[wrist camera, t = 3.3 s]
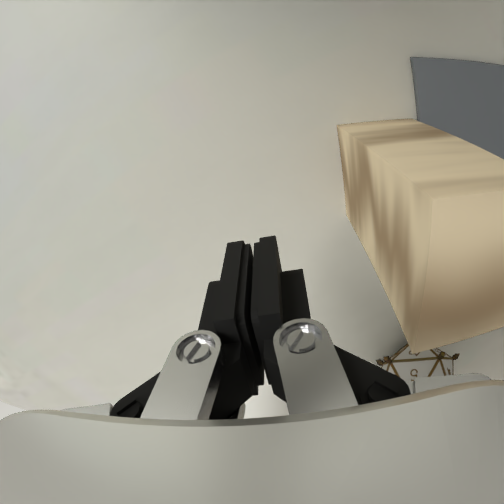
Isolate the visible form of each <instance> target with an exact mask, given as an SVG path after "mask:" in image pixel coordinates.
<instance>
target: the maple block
mask: <svg viewBox="0 0 504 504" xmlns="http://www.w3.org/2000/svg"><path fill="white" fill-rule="evenodd" d="M337 130H338V137H339V145H340V153H341V162H342V171H343V180H344V191H345V202H346V214H347V217H348V219H349V220H350V222H351V224H352V226H353V228H354V230H355V232H356V234H357V235H358V237H359V239H360V241H361V243H362V245H363V247H364V249H365V251H366V253H367V255H368V257H369V259H370V261H371V263H372V265H373V267H374V269H375V271H376V273H377V275H378V277H379V279H380V282H381V284H382V286H383V288H384V290H385V292H386V294H387V296H388V299H389V301H390V303H391V305H392V307H393V310H394V312H395V314H396V316H397V319H398V321H399V323H400V326H401V328H402V330H403V333H404V335H405V337H406V340H407V342H408V345H409V347H410V349H411V352H412V354H414V353H418V352H422V351H426V350H430V349H434V348H437V347H441V346H445V345H448V344H452V343H455V342H458V341H462V340H465V339H468V338H471V337H475V336H478V335H481V334H484V333H487V332H490V331H493V330H496V329H498V328H501V327H504V159H502V158H500V157H498V156H496V155H494V154H492V153H490V152H488V151H486V150H484V149H482V148H480V147H478V146H476V145H474V144H472V143H469V142H467V141H465V140H463V139H461V138H458V137H456V136H454V135H451V134H449V133H447V132H444V131H442V130H440V129H437V128H435V127H432V126H430V125H427V124H424V123H422V122H419V121H417V120H414V119H397V120H383V121H371V122H361V123H351V124H342V125H337Z"/></svg>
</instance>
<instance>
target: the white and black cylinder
mask: <svg viewBox="0 0 504 504" xmlns="http://www.w3.org/2000/svg"><path fill="white" fill-rule="evenodd" d="M245 405H246V407H245V414H244V419H247V418H262V417H274V416H285V415H289V412H288V407H287V403H286V402H284V401H283V400H282V399H280V398H279V397H277V396H276V395H274V394H273V390H272V386H271V385H269V384H268V380H267V377H266V373H265V369H264V385H261V386H258V395H255V396H252V397H251V398H249V399H248V400H247V401H246V402H245Z"/></svg>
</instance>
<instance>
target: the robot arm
mask: <svg viewBox="0 0 504 504" xmlns="http://www.w3.org/2000/svg"><path fill="white" fill-rule="evenodd" d="M264 369H265V373H266V377H267V380H268V384H269V385H271V386H272V390H273V394H274V395H276V396H277V397H279V398H280V399H282V400H283V401H284V402H286V403H287V407H288V412H289V415H285V416H274V417H262V418H247V419H244V414H245V407H246V405H245V402H246V401H247V400H248V399H249V398H251V397H252V396H255V395H258V386H261V385H264ZM0 504H504V380H491V379H490V378H489V377H487V376H485V375H483V374H478V373H470V374H460V375H447V376H432V377H415V378H414V381H404V380H403V379H401V378H400V377H398V376H397V375H395V374H393V373H391V372H388V371H386V370H384V369H382V368H380V367H378V366H376V365H374V364H372V363H369V362H367V361H365V360H363V359H361V358H359V357H357V356H355V355H353V354H351V353H349V352H347V351H345V350H343V349H341V348H339V347H337V346H335V345H333V342H332V340H331V338H330V335H329V333H328V331H327V329H326V328H325V326H324V325H323V324H321V323H320V322H318V321H316V320H313V319H311V317H310V310H309V304H308V298H307V292H306V286H305V281H304V275H303V269H298V270H291V271H284V272H282V269H281V264H280V258H279V252H278V246H277V241H276V236H269V237H263V238H260V242H257V243H254V257H253V254H252V249H251V245H250V244H245V243H244V241H237V242H231V243H227V248H226V253H225V258H224V263H223V268H222V273H221V278H220V281H213V282H210V283H209V285H208V289H207V293H206V298H205V302H204V306H203V311H202V315H201V319H200V324H199V328H198V330H197V331H193V332H190V333H187V334H185V335H184V336H182V337H181V338H179V339H178V340H177V341H176V342H175V344H174V345H173V347H172V349H171V351H170V353H169V355H168V357H167V360H166V362H165V364H164V366H163V368H162V370H161V372H159V373H158V374H157V375H155V376H154V377H152V378H151V379H149V380H148V381H146V382H145V383H144V384H142V385H141V386H139V387H138V388H136V389H135V390H133V391H132V392H130V393H129V394H127V395H126V396H125V397H123V398H122V399H120V400H119V401H118V402H117V403H116V404H115V405H114V406H112V405H111V403H108V404H101V405H94V406H86V407H78V408H69V409H64V410H60V411H58V410H30V411H22V412H18V413H14V414H12V415H9V416H7V417H5V418H3V419H2V420H0Z"/></svg>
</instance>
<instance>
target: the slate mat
mask: <svg viewBox="0 0 504 504" xmlns="http://www.w3.org/2000/svg"><path fill="white" fill-rule="evenodd" d="M410 60H411V67H412V74H413V81H414V90H415V99H416V109H417V121H419V122H422V123H424V124H427V125H430V126H432V127H435V128H437V129H440V130H442V131H444V132H447V133H449V134H451V135H454V136H456V137H458V138H461V139H463V140H465V141H467V142H469V143H472V144H474V145H476V146H478V147H480V148H482V149H484V150H486V151H488V152H490V153H492V154H494V155H496V156H498V157H500V158H502V159H504V65H498V64H491V63H484V62H476V61H467V60H456V59H443V58H423V57H410Z"/></svg>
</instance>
